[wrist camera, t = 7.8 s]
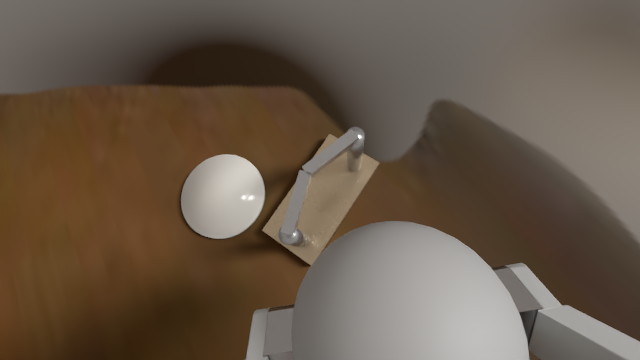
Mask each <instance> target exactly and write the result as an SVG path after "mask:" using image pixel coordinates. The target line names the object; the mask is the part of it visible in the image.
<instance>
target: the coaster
mask: <svg viewBox="0 0 640 360" xmlns="http://www.w3.org/2000/svg"><path fill="white" fill-rule="evenodd" d="M264 202H265V185H264V181H263V178H262V176H261V174H260V173H259V171H258V170H257V169H256V167H255V166H254V165H253V164H251V163H250V162H249V161H248V160H246V159H244V158H242V157H239V156H236V155H229V154H227V155H218V156H214V157H211V158H209V159H207V160H205V161H203V162H202V163H200V164H199V165H198V166H197V167H196V168H195V169H194V170H193V171H192V172H191V173H190V175H189V176H188V178H187V180H186V182H185V184H184V186H183V190H182V194H181V208H182V212H183V215H184V218H185V220H186V221H187V223H188V224H189V225H190V227H191V228H192V229H193V230H195V231H196V232H197V233H199V234H201V235H203V236H205V237H209V238H215V239H226V238H231V237H234V236H237V235H239V234H241V233H243V232H244V231H246V230H247V229H248V228H250V227H251V226H252V225H253V224H254V222H255V221H256V220H257V218H258V217H259V215H260V213H261V211H262V209H263V206H264Z"/></svg>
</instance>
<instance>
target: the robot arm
mask: <svg viewBox="0 0 640 360" xmlns="http://www.w3.org/2000/svg"><path fill="white" fill-rule="evenodd" d="M491 269H492V270H493V271H494V272H495V273H496V275H497V276H498V278H499V279H500V280H501V282H502V283H503V285H504V286H505V287H506V289H507V290H508V292H509V293H510V295H511V297H512V299H513V301H514V303H515V305H516V308H517V310H518V312H519V314H520V316H521V320H522V323H523V327H524V330H525V334H526V337H527V342H528V350H529V351H531V352H532V353H533V354H535V355H536V356H537V357H539V358H540V359H541V360H640V342H639V341H637V340H635V339H633V338H631V337H629V336H627V335H625V334H623V333H621V332H619V331H617V330H615V329H613V328H611V327H609V326H608V325H606V324H604V323H602V322H600V321H598V320H596V319H594V318H592V317H590V316H588V315H586V314H584V313H582V312H580V311H578V310H576V309H574V308H572V307H570V306H568V305H564V306H562V305H561V304H560V303H559V302H558V301H557V299H556V298H555V297H554V296H553V295H552V294H551V293H550V292H549V291H548V289H547V288H546V287H545V286H544V285H543V284H542V283H541V282H540V280H539V279H538V278H537V277H536V276H535V275H534V274H533V273H532V272H531V270H530V269H529V268H528V267H527V266H526V265H525V264H523V263H517V264H512V265H507V266H499V267H494V268H491ZM294 305H295V304H292V305H285V306H278V307H272V308H265V309H260V310H255V312H254V314H253V318H252V324H251V330H250V336H249V342H248V348H247V354H246V360H294V359H293V348H292V338H291V328H292V316H293V309H294Z"/></svg>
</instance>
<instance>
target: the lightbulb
mask: <svg viewBox="0 0 640 360" xmlns="http://www.w3.org/2000/svg"><path fill="white" fill-rule="evenodd" d="M291 338H292V348H293V359H294V360H529V352H528V342H527V337H526V334H525V330H524V327H523V323H522V320H521V316H520V314H519V312H518V310H517V308H516V305H515V303H514V301H513V299H512V297H511V295H510V293H509V292H508V290H507V289H506V287H505V286H504V285H503V283H502V282H501V280H500V279H499V278H498V276H497V275H496V273H495V272H494V271H493V270H492V269H491V267H490V266H489V265H488V264H487V263H486V262H485V261H484V260H483V259H482V258H481V257H479V256H478V255H477V254H476V253H475V252H474V251H473V250H472V249H470V248H469V247H467V246H466V245H465V244H463V243H462V242H460V241H459V240H457V239H456V238H454V237H452V236H450V235H448V234H445V233H443V232H441V231H439V230H437V229H434V228H431V227H428V226H424V225H420V224H416V223H412V222H399V221H387V222H380V223H372V224H368V225H366V226H363V227H360V228H357V229H354V230H352V231H350V232H348V233H347V234H345V235H343V236H342V237H340V238H338V239H337V240H335V241H334V242H333V243H332V244H330V245H329V246H328V247H327V248H326V249H325V250H324V251H323V252H322V253H321V254H320V255H319V256H318V257H317V259H316V260H315V261H314V263H313V264H312V266H311V267H310V268H309V270H308V271H307V273H306V275H305V277H304V280H303V282H302V284H301V286H300V288H299V290H298V294H297V298H296V301H295V305H294V309H293V316H292V328H291Z"/></svg>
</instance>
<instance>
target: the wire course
mask: <svg viewBox="0 0 640 360" xmlns="http://www.w3.org/2000/svg"><path fill="white" fill-rule="evenodd" d="M363 145H364V132H363V130H362V129H360V128H358V127H353V128H350V129H349V130H348V131H347V133H345V134H344V135H343V136H341V137H340V138H339V139H338V138H336V137H334V136H333V135H331V134H329V136H328V137H327V138H326V140H325V141H324V143H323V144H322V146H321V147H320V148H319V150H318V151H317V153H316V154H315V155H314V157H313V158H312V159H311V160H310V161H309V162H307V163H306V164H305V165H303V166H302V168H303V170H304V171H302V170H299V173H298V177H297V180H296V183H295V184H294V185H293V187H292V188H291V190H290V191H289V193H288V194H287V195H286V197H285V198H284V200H283V201H282V203H281V204H280V205H279V207H278V208H277V210H276V211H275V213H274V214H273V215H272V217H271V218H270V220H269V221H268V223H267V224H266V225H265V227H264V228H263V230H262V231H263V232H265V233H266V234H268V235H269V236H270V237H272V238H273V239H275V240H276V241H277V242H279V243H280V244H282V245H283V246H284V247H286V248H287V249H289V250H290V251H291V252H293V253H294V254H296V255H297V256H298V257H300V258H301V259H302V260H304V261H305V262H307V263H308V264H309V265H311V266H312V264H313V263H314V261H315V260H316V259H317V257H318V256H319V255H320V254H321V253H322V252H323V251H324V249H325V248H326V246H327V245H328V243H329V242H330V240H331V238H332V237H333V235H334V234H335V232H336V231H337V229H338V228H339V226H340V225H341V223H342V222H343V220H344V219H345V217H346V216H347V214H348V212H349V211H350V209H351V208H352V206H353V205H354V203H355V202H356V200H357V199H358V197H359V196H360V194H361V193H362V191H363V190H364V188H365V186H366V185H367V183H368V182H369V180H370V179H371V177H372V176H373V174H374V173H375V171H376V170H377V168H378V167H379V162H377V161H375V160H374V159H372V158H370V157H368V156H367V155H365V154H363Z"/></svg>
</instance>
